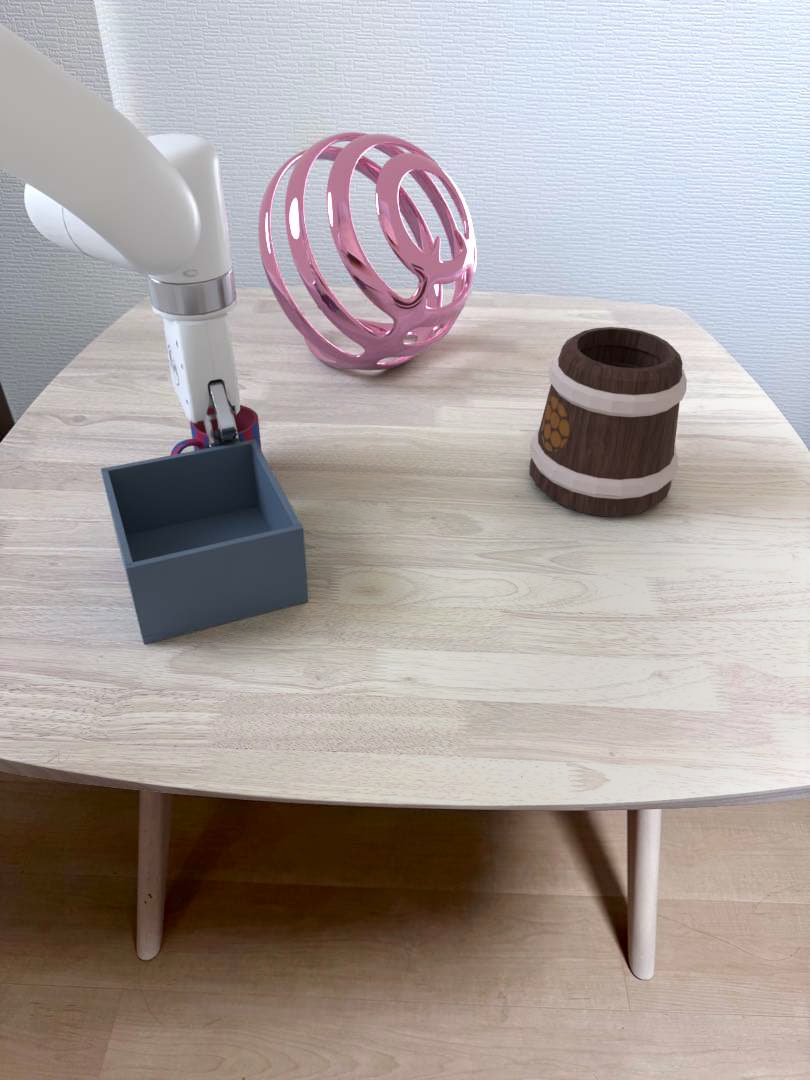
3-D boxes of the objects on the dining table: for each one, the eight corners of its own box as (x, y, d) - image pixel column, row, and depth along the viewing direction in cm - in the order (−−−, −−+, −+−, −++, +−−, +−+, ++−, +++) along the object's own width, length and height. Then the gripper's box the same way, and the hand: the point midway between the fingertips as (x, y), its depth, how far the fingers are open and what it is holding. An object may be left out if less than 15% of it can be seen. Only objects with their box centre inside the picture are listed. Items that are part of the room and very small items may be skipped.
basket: (303, 527, 68) (255, 438, 79) (126, 568, 64) (100, 468, 75) (308, 602, 73) (262, 508, 84) (143, 644, 69) (117, 540, 80)
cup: (276, 479, 88) (271, 422, 84) (191, 515, 83) (181, 456, 79) (241, 453, 92) (235, 397, 88) (158, 485, 87) (147, 427, 83)
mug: (690, 522, 84) (728, 384, 74) (538, 523, 83) (558, 384, 74) (638, 421, 99) (664, 298, 90) (510, 422, 99) (524, 297, 90)
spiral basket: (185, 182, 105) (312, 65, 85) (354, 199, 124) (491, 106, 104) (238, 402, 107) (376, 338, 87) (397, 386, 126) (541, 330, 105)
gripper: (133, 261, 81) (165, 423, 92) (169, 334, 68) (200, 511, 79) (211, 251, 83) (233, 410, 94) (259, 319, 70) (278, 493, 81)
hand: (218, 455), depth 86 cm, fingers open, 7 cm apart
